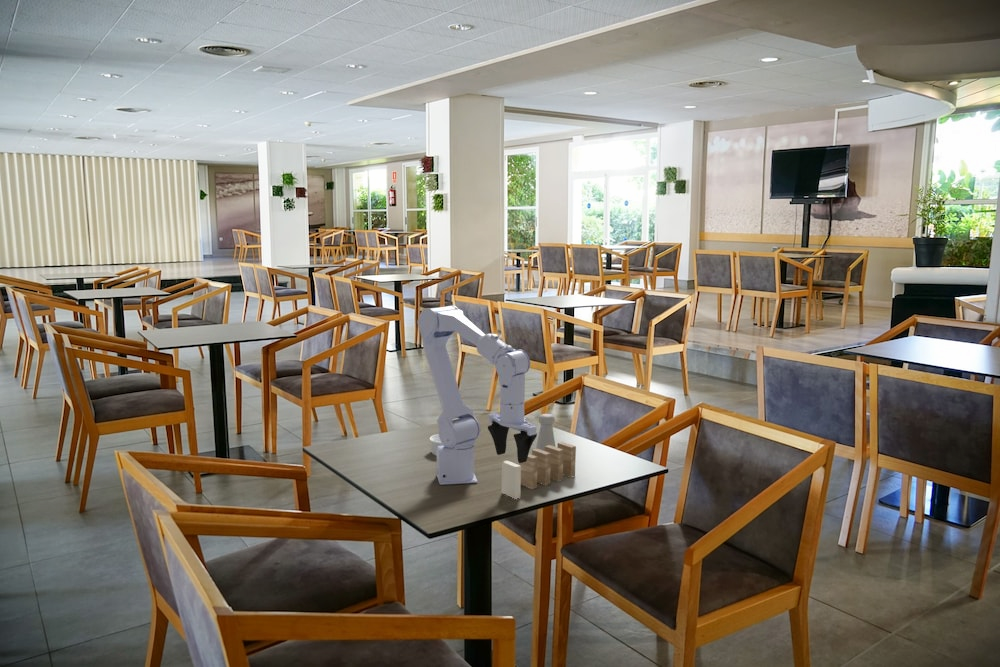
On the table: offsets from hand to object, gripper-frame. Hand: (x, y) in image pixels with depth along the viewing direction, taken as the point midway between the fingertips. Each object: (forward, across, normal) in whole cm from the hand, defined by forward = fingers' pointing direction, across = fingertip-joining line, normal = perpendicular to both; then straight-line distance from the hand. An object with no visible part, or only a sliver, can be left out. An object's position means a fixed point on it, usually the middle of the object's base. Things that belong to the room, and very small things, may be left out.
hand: (511, 457), depth 183 cm
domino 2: (+9, +2, -12) cm, 15 cm away
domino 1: (+9, +2, -8) cm, 12 cm away
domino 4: (+9, +2, -21) cm, 23 cm away
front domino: (+9, 0, 0) cm, 9 cm away
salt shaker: (+10, +13, -24) cm, 29 cm away
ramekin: (+10, +36, -8) cm, 39 cm away
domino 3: (+9, +2, -16) cm, 19 cm away
